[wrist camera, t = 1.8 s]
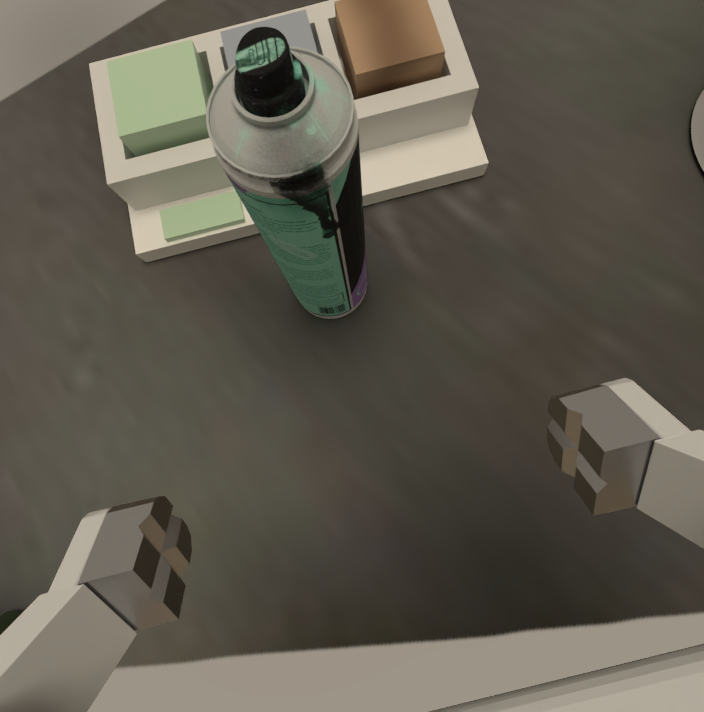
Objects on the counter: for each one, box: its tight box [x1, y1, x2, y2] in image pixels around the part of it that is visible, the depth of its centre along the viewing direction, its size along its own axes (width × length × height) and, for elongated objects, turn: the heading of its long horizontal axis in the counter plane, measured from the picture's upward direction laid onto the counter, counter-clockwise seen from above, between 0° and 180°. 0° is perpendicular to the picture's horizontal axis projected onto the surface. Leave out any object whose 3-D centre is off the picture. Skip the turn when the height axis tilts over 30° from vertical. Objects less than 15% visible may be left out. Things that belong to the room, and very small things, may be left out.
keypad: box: [89, 0, 488, 262], centre depth 32 cm, size 27×14×5 cm, turn 104°
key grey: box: [220, 9, 318, 69], centre depth 30 cm, size 6×6×4 cm
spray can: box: [206, 27, 367, 319], centre depth 23 cm, size 6×6×20 cm
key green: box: [107, 39, 213, 157], centre depth 30 cm, size 6×6×4 cm
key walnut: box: [334, 0, 445, 100], centre depth 30 cm, size 6×6×4 cm
